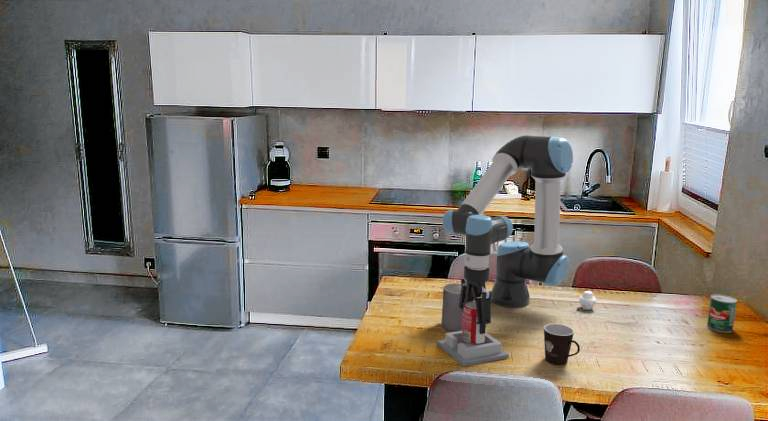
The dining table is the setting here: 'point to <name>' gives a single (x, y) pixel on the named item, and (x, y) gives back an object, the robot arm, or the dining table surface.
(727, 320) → the canned tomato
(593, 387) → the dining table surface
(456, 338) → the pocket board
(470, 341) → the soda can
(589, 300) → the white lidded jar
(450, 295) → the pillar candle
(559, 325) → the coffee mug
